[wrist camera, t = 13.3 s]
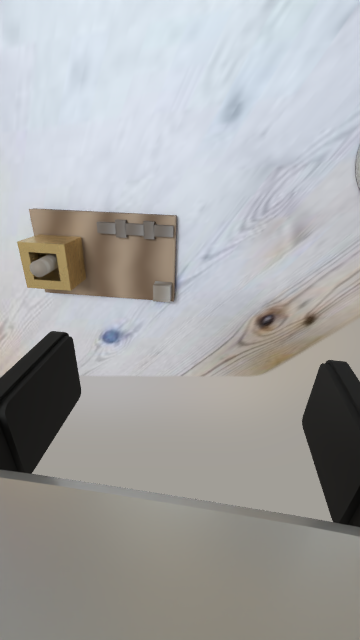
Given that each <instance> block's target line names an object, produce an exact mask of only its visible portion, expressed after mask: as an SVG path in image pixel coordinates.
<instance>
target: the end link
mask: <svg viewBox="0 0 360 640" xmlns="http://www.w3.org/2000/svg"><path fill="white" fill-rule="evenodd" d="M17 243H18V248H19V252H20V256H21V261H22V265H23V270H24V274H25V279H26V283H27V288H41V289H54V290H68V291H71V290H72V289H74V288H75V287H76V286H77V285H79V284H80V283H81V282H82V281H84V280H85V279H86V274H85V265H84V257H83V249H82V241H81V237H75V236H58V235H42V234H39V235H36V236H33V237H30V238H27V239H24V240H21V241H18V242H17ZM50 253H51V254H56V256H57V262H58V268H59V269H55V270H53V271H51V272H50V273H48V274H46V275H44V276H43V277H36V276H34V275H33V274H32V273H31V271H30V264H31V263H32V262H34V261H36V260H38V259H40V258H42V257H44V256H46V255H48V254H50Z"/></svg>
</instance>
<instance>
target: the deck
mask: <svg viewBox="0 0 360 640" xmlns="http://www.w3.org/2000/svg"><path fill="white" fill-rule="evenodd" d="M29 212H30V217H31V222H32V227H33V232H34V236H36V235H39V234H42V235H58V236H75V237H81V241H82V249H83V257H84V265H85V274H86V279H85V280H84V281H82V282H81V283H80V284H79V285H77V286H76V287H75V288H74V289H72V290H71V291H68V290H54V289H45V292H50V293H64V294H78V295H92V296H106V297H119V298H133V299H147V300H153V301H159V302H170V301H174V296H175V258H176V220H177V215H157V214H136V213H115V212H94V211H74V210H53V209H29ZM55 269H59V268H58V262H57V256H56V254H51V253H50V254H48V255H46V256H44V257H42V258H40V259H38V260H36V261H34V262H32V263H31V264H30V271H31V273H32V274H33V275H34V276H36V277H43V276H44V275H46V274H48V273H50V272H51V271H53V270H55Z"/></svg>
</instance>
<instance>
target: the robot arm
mask: <svg viewBox="0 0 360 640" xmlns="http://www.w3.org/2000/svg"><path fill="white" fill-rule="evenodd" d="M356 178H357V182H358V186H359V188H360V147H359V150H358V153H357V159H356ZM80 395H81V386H80V381H79V374H78V368H77V362H76V356H75V349H74V343H73V339H72V337H69V335H68V333H65V332H56V331H51V332H50V333H48V334H47V335H46V336H45V337H44V338H43V339H42V340H41V341H40V342H39V343H38V344H37V345H36V346H34V347H33V348H32V349H31V350H30V351H29V352H28V353H27V354H26V355H25V356H24V357H23V358H21V359H20V360H19V361H18V362H17V363H16V364H15V365H14V366H13V367H12V368H11V369H10V370H9V371H7V372H6V373H5V374H4V375H3V376H2V377H1V378H0V640H360V382H359V380H358V378H357V377H356V375H355V374H354V372H353V371H352V369H351V368H350V366H349V365H348V364H347V362H343V361H333V360H328V361H327V362H326V363H325V364H321V365H320V367H319V370H318V374H317V376H316V379H315V383H314V385H313V388H312V391H311V394H310V397H309V400H308V403H307V406H306V409H305V412H304V415H303V419H302V425H303V429H304V433H305V436H306V439H307V442H308V445H309V448H310V452H311V454H312V458H313V461H314V464H315V467H316V470H317V474H318V477H319V480H320V483H321V486H322V489H323V492H324V496H325V499H326V502H327V505H328V508H329V511H330V515H331V518H332V520H333V522H328V521H322V520H317V519H312V518H306V517H300V516H295V515H289V514H283V513H276V512H270V511H264V510H258V509H252V508H246V507H240V506H233V505H228V504H221V503H216V502H210V501H202V500H197V499H191V498H184V497H178V496H172V495H165V494H159V493H152V492H147V491H140V490H133V489H128V488H121V487H115V486H108V485H101V484H95V483H89V482H81V481H76V480H69V479H62V478H55V477H48V476H42V475H36V474H31V473H32V472H33V471H34V469H35V468H36V466H37V464H38V463H39V461H40V460H41V458H42V456H43V455H44V453H45V452H46V450H47V449H48V447H49V445H50V444H51V442H52V441H53V439H54V438H55V436H56V434H57V433H58V431H59V430H60V428H61V426H62V425H63V423H64V422H65V420H66V418H67V417H68V415H69V414H70V412H71V411H72V409H73V407H74V406H75V404H76V403H77V401H78V400H79V398H80Z"/></svg>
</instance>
